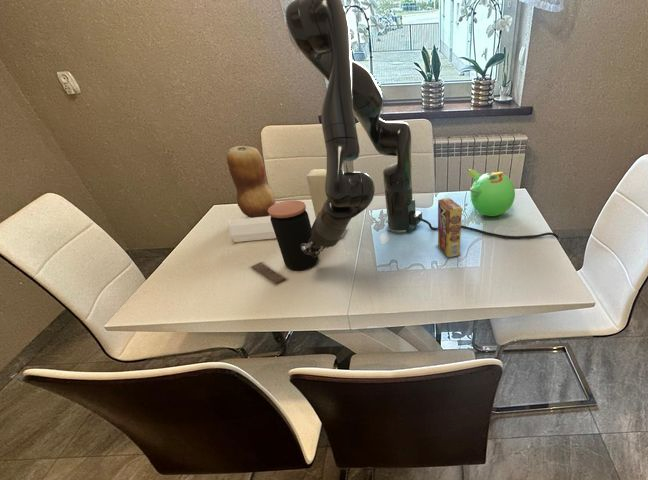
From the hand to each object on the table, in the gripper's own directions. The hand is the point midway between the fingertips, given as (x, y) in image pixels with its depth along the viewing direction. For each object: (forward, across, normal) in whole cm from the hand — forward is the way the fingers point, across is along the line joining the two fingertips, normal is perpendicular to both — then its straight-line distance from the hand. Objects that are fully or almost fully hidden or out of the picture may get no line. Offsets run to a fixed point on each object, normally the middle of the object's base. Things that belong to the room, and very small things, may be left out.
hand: (313, 254), depth 111 cm
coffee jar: (+11, 0, -2) cm, 11 cm away
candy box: (-11, -36, +20) cm, 42 cm away
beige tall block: (+17, -19, -8) cm, 27 cm away
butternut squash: (+42, -10, -33) cm, 54 cm away
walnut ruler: (+13, +10, -4) cm, 17 cm away
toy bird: (-6, -67, +15) cm, 69 cm away
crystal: (+30, -2, -21) cm, 37 cm away
